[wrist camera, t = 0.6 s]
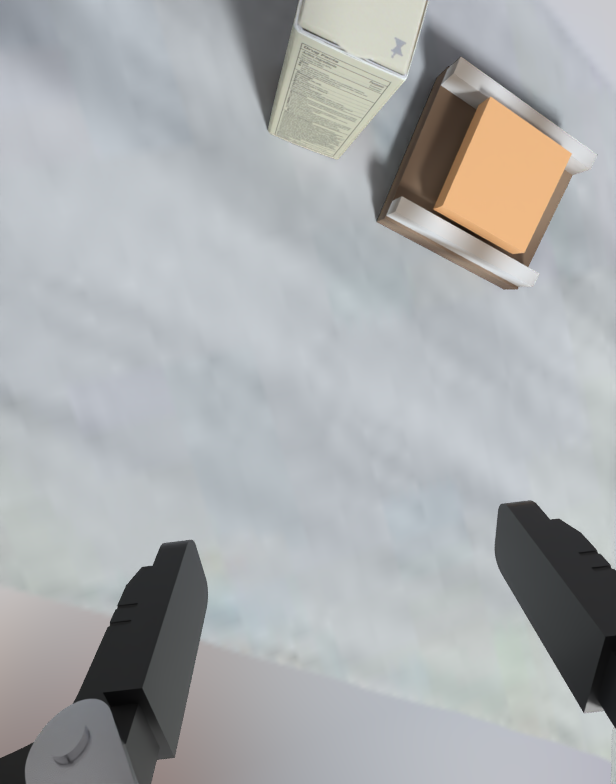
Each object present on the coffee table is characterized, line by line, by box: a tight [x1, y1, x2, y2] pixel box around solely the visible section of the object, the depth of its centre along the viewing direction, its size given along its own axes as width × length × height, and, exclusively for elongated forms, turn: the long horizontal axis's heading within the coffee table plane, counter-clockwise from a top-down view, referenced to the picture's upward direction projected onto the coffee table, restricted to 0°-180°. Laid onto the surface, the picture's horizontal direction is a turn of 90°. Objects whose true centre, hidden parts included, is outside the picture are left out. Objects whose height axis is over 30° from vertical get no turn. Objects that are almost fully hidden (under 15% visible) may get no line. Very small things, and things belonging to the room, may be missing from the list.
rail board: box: [377, 57, 597, 289], centre depth 28 cm, size 12×10×3 cm
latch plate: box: [433, 97, 572, 254], centre depth 27 cm, size 7×7×1 cm
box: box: [268, 0, 429, 159], centre depth 21 cm, size 5×4×11 cm
